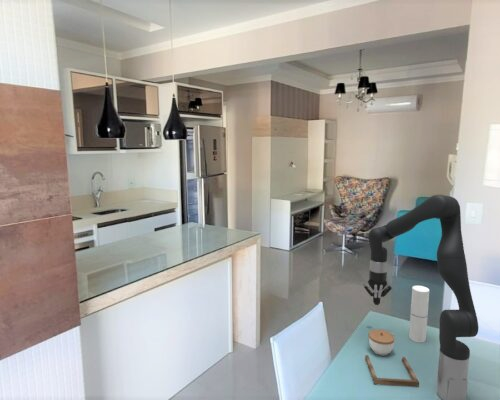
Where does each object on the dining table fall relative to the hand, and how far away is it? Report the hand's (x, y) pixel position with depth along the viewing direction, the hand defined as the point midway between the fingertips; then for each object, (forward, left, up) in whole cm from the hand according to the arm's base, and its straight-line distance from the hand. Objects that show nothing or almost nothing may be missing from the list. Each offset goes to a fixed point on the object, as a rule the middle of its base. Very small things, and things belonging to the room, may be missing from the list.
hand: (376, 304), depth 162 cm
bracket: (-25, 0, -17) cm, 30 cm away
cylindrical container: (+1, -20, -17) cm, 26 cm away
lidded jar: (-11, 0, -17) cm, 21 cm away
